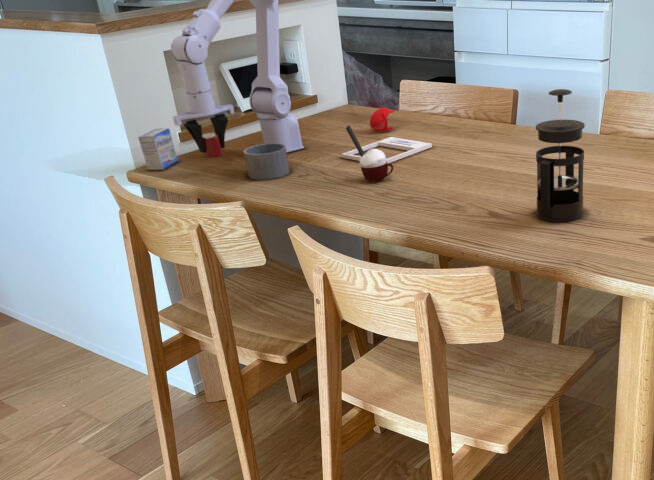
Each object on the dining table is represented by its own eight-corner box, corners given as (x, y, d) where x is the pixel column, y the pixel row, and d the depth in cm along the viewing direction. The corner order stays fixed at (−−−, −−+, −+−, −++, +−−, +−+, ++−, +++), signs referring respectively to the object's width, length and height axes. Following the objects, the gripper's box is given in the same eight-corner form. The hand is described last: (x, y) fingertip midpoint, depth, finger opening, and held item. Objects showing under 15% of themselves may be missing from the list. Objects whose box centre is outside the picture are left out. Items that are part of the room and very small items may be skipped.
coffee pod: (218, 151, 188) (213, 131, 186) (226, 154, 185) (221, 134, 183) (201, 156, 186) (196, 135, 183) (209, 159, 183) (204, 138, 180)
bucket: (277, 165, 190) (272, 141, 187) (297, 172, 183) (292, 147, 180) (242, 174, 185) (236, 150, 182) (260, 182, 178) (255, 157, 175)
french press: (550, 202, 153) (550, 82, 141) (593, 208, 149) (596, 85, 137) (523, 221, 145) (520, 96, 133) (567, 228, 141) (568, 99, 129)
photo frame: (431, 142, 194) (382, 160, 183) (431, 147, 195) (382, 165, 183) (391, 136, 202) (341, 153, 191) (391, 140, 203) (342, 157, 192)
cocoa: (398, 178, 174) (392, 125, 168) (379, 186, 170) (372, 131, 164) (370, 172, 179) (363, 120, 173) (350, 179, 175) (342, 127, 169)
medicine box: (163, 170, 193) (153, 136, 188) (147, 170, 193) (137, 136, 189) (178, 161, 199) (169, 127, 194) (163, 161, 200) (154, 128, 195)
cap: (382, 135, 209) (379, 112, 206) (366, 132, 212) (363, 110, 209) (401, 128, 214) (398, 106, 211) (385, 126, 217) (382, 104, 214)
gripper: (219, 83, 184) (232, 140, 191) (162, 95, 177) (177, 153, 184) (232, 87, 179) (245, 144, 187) (173, 98, 172) (189, 158, 179)
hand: (212, 149), depth 185 cm, fingers closed on coffee pod, 4 cm apart
